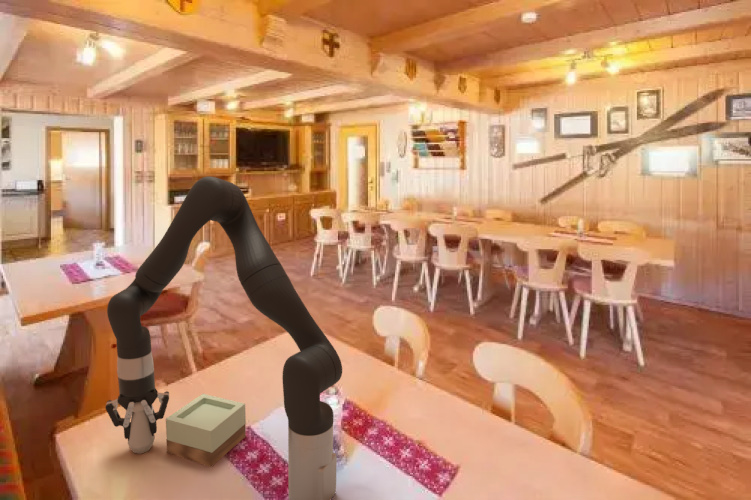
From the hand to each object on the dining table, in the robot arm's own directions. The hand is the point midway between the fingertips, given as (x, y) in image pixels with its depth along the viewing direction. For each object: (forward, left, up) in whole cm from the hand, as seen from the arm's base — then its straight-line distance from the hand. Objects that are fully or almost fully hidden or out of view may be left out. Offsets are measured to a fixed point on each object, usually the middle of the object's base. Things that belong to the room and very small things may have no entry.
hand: (141, 436), depth 112 cm
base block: (-13, -8, -4) cm, 16 cm away
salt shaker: (0, 0, -3) cm, 3 cm away
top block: (-13, -8, 0) cm, 15 cm away
